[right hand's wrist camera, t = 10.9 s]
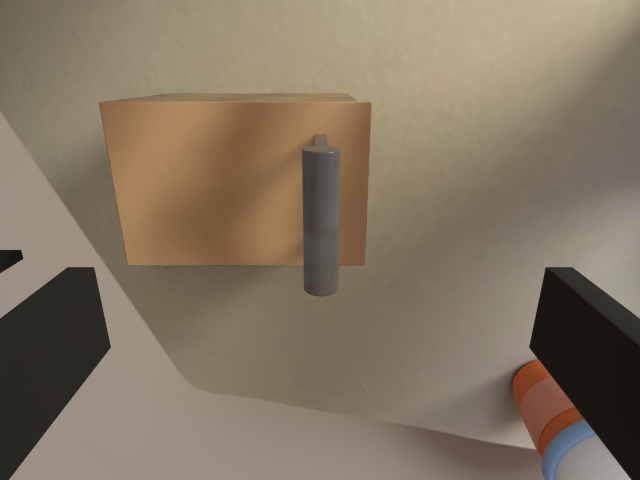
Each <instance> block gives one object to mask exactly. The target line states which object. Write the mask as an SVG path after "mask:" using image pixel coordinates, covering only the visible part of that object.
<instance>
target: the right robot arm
mask: <svg viewBox="0 0 640 480" xmlns="http://www.w3.org/2000/svg"><path fill="white" fill-rule="evenodd" d="M110 348H111V346H110V341H109V337H108V332H107V327H106V322H105V318H104V313H103V308H102V303H101V298H100V293H99V289H98V284H97V279H96V274H95V269H94V267H68V268H66V269H65V270H64V271H62V272H61V273H60V274H58V275H57V276H56V277H54V278H53V279H52V280H50V281H49V282H48V283H47V284H45V285H44V286H43V287H41V288H40V289H39V290H37V291H36V292H35V293H33V294H32V295H31V296H29V297H28V298H27V299H25V300H24V301H23V302H21V303H20V304H19V305H17V306H16V307H15V308H14V309H12V310H11V311H10V312H8V313H7V314H6V315H4V316H3V317H2V318H0V480H9V479H10V478H11V476H12V475H13V474H14V472H15V471H16V470H17V468H18V467H19V466H20V465H21V463H22V462H23V461H24V459H25V458H26V457H27V455H28V454H29V453H30V451H31V450H32V449H33V448H34V446H35V445H36V444H37V442H38V441H39V440H40V439H41V437H42V436H43V435H44V433H45V432H46V431H47V429H48V428H49V427H50V426H51V424H52V423H53V422H54V420H55V419H56V418H57V417H58V415H59V414H60V413H61V411H62V410H63V409H64V407H65V406H66V405H67V404H68V402H69V401H70V400H71V398H72V397H73V396H74V394H75V393H76V392H77V391H78V389H79V388H80V387H81V385H82V384H83V383H84V381H85V380H86V379H87V378H88V376H89V375H90V374H91V372H92V371H93V370H94V368H95V367H96V366H97V365H98V363H99V362H100V361H101V359H102V358H103V357H104V355H105V354H106V353H107V352H108V350H109V349H110ZM529 348H530V349H531V350H532V352H533V353H534V354H535V355H536V357H537V358H538V359H539V361H540V362H541V363H542V365H543V366H544V367H545V368H546V370H547V371H548V372H549V374H550V375H551V376H552V378H553V379H554V380H555V381H556V383H557V384H558V385H559V387H560V388H561V389H562V391H563V392H564V393H565V394H566V396H567V397H568V398H569V400H570V401H571V402H572V404H573V405H574V406H575V407H576V409H577V410H578V411H579V413H580V414H581V415H582V417H583V418H584V419H585V420H586V422H587V423H588V424H589V426H590V427H591V428H592V429H593V431H594V432H595V433H596V435H597V436H598V437H599V439H600V440H601V441H602V442H603V444H604V445H605V446H606V448H607V449H608V450H609V452H610V453H611V454H612V455H613V457H614V458H615V459H616V461H617V462H618V463H619V465H620V466H621V467H622V468H623V470H624V471H625V472H626V474H627V475H628V476H629V478H630V479H631V480H640V318H638V317H637V316H636V315H634V314H633V313H632V312H630V311H629V310H628V309H626V308H625V307H624V306H623V305H621V304H620V303H619V302H617V301H616V300H615V299H613V298H612V297H611V296H609V295H608V294H607V293H605V292H604V291H603V290H601V289H600V288H599V287H597V286H596V285H595V284H594V283H592V282H591V281H590V280H588V279H587V278H586V277H584V276H583V275H582V274H580V273H579V272H578V271H576V270H575V269H574V268H572V267H546V269H545V274H544V279H543V284H542V288H541V293H540V298H539V303H538V308H537V313H536V317H535V322H534V327H533V332H532V337H531V341H530V346H529Z"/></svg>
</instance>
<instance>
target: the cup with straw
mask: <svg viewBox="0 0 640 480" xmlns="http://www.w3.org/2000/svg"><path fill="white" fill-rule="evenodd" d="M512 390H513V394H514V396H515V399H516V401H517V403H518V405H519V407H520V411H521V416H522V418H523V421H524V423H525V425H526V427H527V430H528V432H529V434H530V436H531V438H532V441H533V443H534V445H535V447H536V449H537V452H538V454H539V456H540V457H541V459H542V472H543V476H544V478H545V480H631V479H630V478H629V476H628V475H627V474H626V472H625V471H624V470H623V468H622V467H621V466H620V465H619V463H618V462H617V461H616V459H615V458H614V457H613V455H612V454H611V453H610V452H609V450H608V449H607V448H606V446H605V445H604V444H603V442H602V441H601V440H600V439H599V437H598V436H597V435H596V433H595V432H594V431H593V429H592V428H591V427H590V426H589V424H588V423H587V422H586V420H585V419H584V418H583V417H582V415H581V414H580V413H579V411H578V410H577V409H576V407H575V406H574V405H573V404H572V402H571V401H570V400H569V398H568V397H567V396H566V394H565V393H564V392H563V391H562V389H561V388H560V387H559V385H558V384H557V383H556V381H555V380H554V379H553V378H552V376H551V375H550V374H549V372H548V371H547V370H546V368H545V367H544V366H543V365H542V363H541V362H540V361H539V360H536V361H533V362H531V363H528V364H527V365H525V366H524V367H523V368H521V369H520V370H519V371H518V373H517V374H516V376H515V377H514V380H513V383H512Z"/></svg>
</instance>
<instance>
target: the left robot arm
mask: <svg viewBox="0 0 640 480" xmlns="http://www.w3.org/2000/svg"><path fill="white" fill-rule="evenodd" d="M22 259H23V256H22V252H21V250H0V273H1V272H3V271H4V270H6V269H8V268H9V267H11V266H12V265H14V264H16V263H17V262H19V261H21V260H22Z"/></svg>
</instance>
